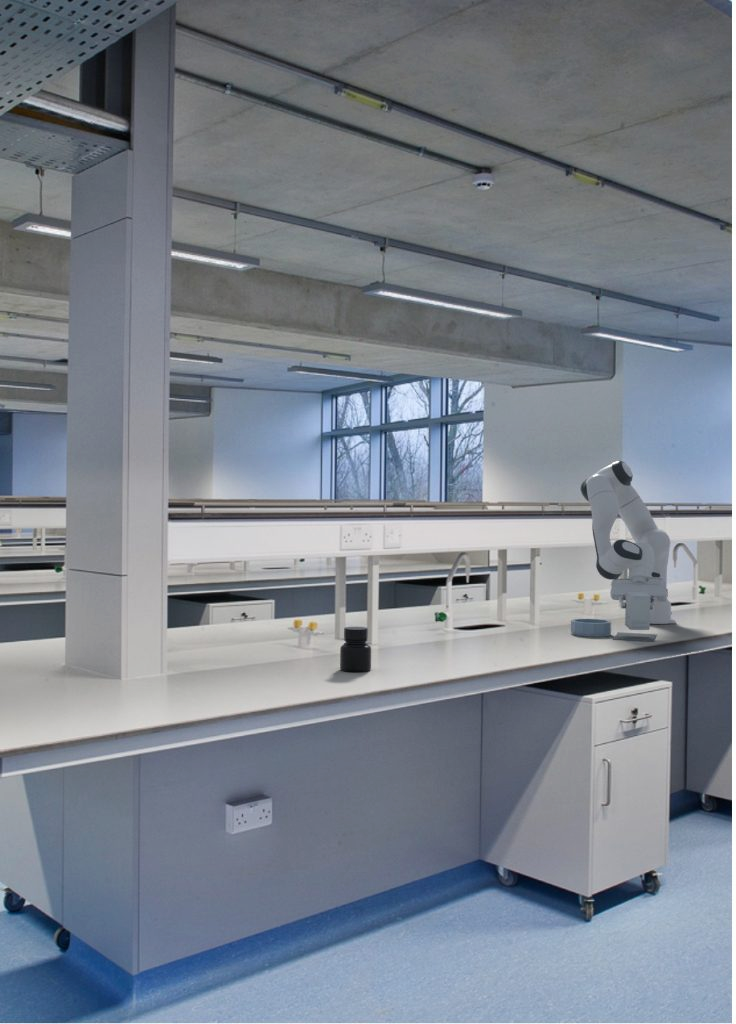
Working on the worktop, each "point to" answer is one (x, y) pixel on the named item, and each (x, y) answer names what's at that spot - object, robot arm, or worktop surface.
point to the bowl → (591, 627)
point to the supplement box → (637, 611)
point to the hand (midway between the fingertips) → (637, 607)
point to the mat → (635, 636)
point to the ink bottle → (355, 650)
